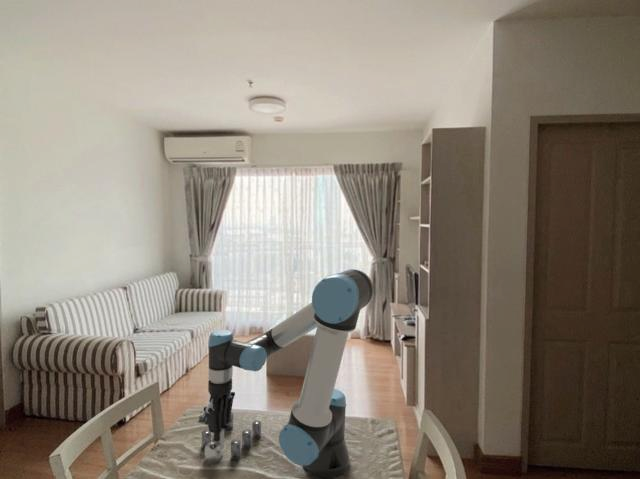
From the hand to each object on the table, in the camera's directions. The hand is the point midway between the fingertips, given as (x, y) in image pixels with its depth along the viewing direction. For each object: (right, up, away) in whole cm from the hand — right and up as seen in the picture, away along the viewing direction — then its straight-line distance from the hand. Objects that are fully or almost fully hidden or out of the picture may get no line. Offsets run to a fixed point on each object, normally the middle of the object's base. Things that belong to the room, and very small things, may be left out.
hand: (219, 448), depth 115 cm
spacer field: (+3, -1, +6) cm, 7 cm away
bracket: (-7, -1, +18) cm, 20 cm away
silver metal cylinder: (-1, -2, -3) cm, 4 cm away
